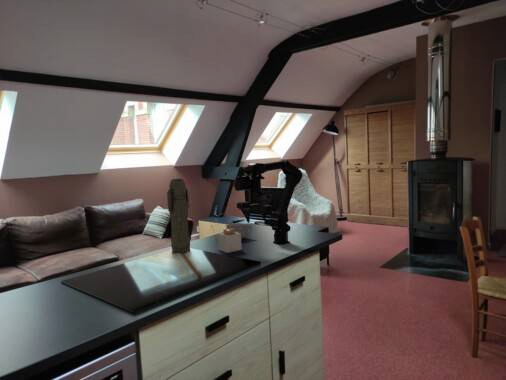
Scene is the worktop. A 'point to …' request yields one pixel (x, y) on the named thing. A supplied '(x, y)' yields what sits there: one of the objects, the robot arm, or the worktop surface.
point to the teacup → (239, 228)
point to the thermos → (179, 215)
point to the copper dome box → (229, 242)
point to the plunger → (228, 231)
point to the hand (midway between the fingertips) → (256, 221)
